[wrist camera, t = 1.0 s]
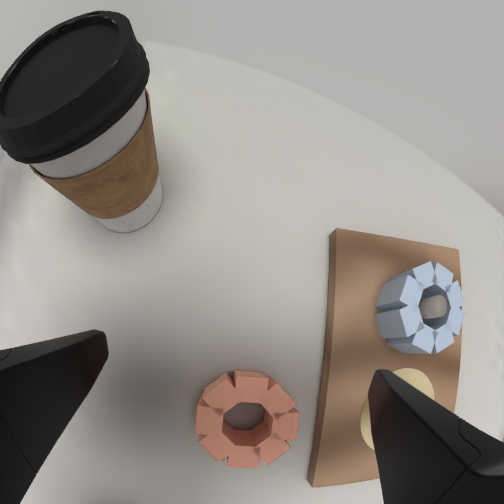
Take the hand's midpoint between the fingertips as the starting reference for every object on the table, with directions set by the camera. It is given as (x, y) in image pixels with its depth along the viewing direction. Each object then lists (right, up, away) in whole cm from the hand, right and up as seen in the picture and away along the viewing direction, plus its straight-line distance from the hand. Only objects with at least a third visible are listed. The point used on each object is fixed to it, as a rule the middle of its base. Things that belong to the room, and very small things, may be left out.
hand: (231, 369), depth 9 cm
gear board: (+12, -5, +12) cm, 18 cm away
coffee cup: (-9, +8, +14) cm, 19 cm away
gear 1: (0, -8, +10) cm, 13 cm away
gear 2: (+13, -1, +12) cm, 18 cm away
